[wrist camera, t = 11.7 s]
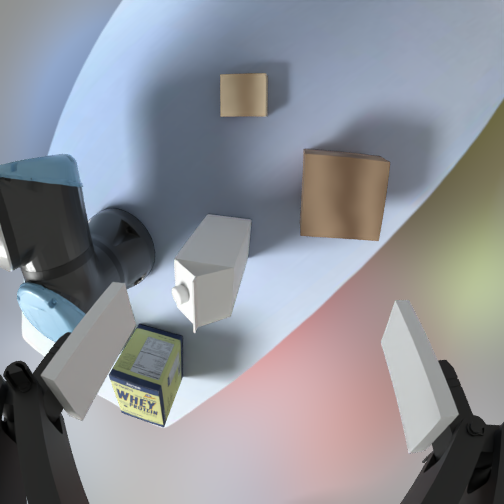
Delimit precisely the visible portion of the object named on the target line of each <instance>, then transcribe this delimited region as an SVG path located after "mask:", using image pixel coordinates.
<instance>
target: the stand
mask: <svg viewBox="0 0 504 504" xmlns="http://www.w3.org/2000/svg"><path fill="white" fill-rule="evenodd" d="M267 100H268V76H267V74H266V73H248V74H222V75H220V113H221V117H231V116H267Z"/></svg>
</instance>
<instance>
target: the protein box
mask: <svg viewBox="0 0 504 504" xmlns="http://www.w3.org/2000/svg"><path fill="white" fill-rule="evenodd" d="M109 377H110V380H111V383H112V386H113V389H114V392H115V395H116V398H117V400H118V403H119V406H120V409H121V412H122V413H124V414H127V415H130V416H132V417H135V418H138V419H141V420H144V421H146V422H149V423H152V424H155V425H158V426H161V427H164V425H165V423H166V420H167V417H168V415H169V412H170V409H171V407H172V404H173V401H174V399H175V396H176V393H177V391H178V388H179V386H180V383H181V380H182V377H183V336H181V335H177V334H173V333H169V332H166V331H162V330H159V329H155V328H152V327H148V326H145V325H141V324H139V325H138V327H137V329H136V330H135V332H134V333H133V335H132V337H131V338H130V340H129V342H128V343H127V345H126V347H125V348H124V350H123V352H122V353H121V355H120V357H119V358H118V360H117V362H116V363H115V365H114V367H113V369H112V370H111V372H110V374H109Z"/></svg>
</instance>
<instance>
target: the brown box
mask: <svg viewBox="0 0 504 504" xmlns="http://www.w3.org/2000/svg"><path fill="white" fill-rule="evenodd" d="M389 169H390V162H389V161H387V160H385V159H384V158H382V157H380V156H375V155H367V154H358V153H348V152H338V151H326V150H313V149H304V155H303V177H302V196H301V213H300V235H301V236H312V237H328V238H343V239H358V240H372V241H379V236H380V231H381V225H382V219H383V213H384V206H385V200H386V193H387V185H388V177H389Z"/></svg>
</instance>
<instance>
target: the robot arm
mask: <svg viewBox="0 0 504 504" xmlns="http://www.w3.org/2000/svg"><path fill="white" fill-rule="evenodd" d="M82 187H83V185H82V183H81V182H80V177H79V172H78V167H77V162H76V160H75V159H74V158H73V157H72V156H70V155H68V154H59V155H51V156H45V157H38V158H32V159H26V160H20V161H15V162H11V163H6V164H1V165H0V268H2V269H5V270H7V271H9V272H11V271H13V270H15V269H17V268H18V267H20V268H21V271H22V273H23V276H24V279H25V283H23V284H21V285H20V288H19V290H18V295H17V299H18V303H19V306H20V308H21V310H22V312H23V313H24V315H25V316H26V318H27V319H28V320H29V322H30V323H31V324H32V325H33V326H34V327H35V328H36V329H37V330H38V331H39V332H41V333H42V334H43V335H44V336H46V337H47V338H49V339H51V340H52V341H54V342H56V343H55V344H54V345H53V347H52V348H51V349H50V351H49V353H47V355H46V356H45V357H44V359H43V360H42V361H41V363H40V364H39V366H38V367H37V368H36V370H35V371H34V373H33V374H32V372H31V371H30V369H29V367H28V366H27V365H26V363H25V362H22V361H16V362H13V363H11V364H10V365H9V366H7V368H6V369H5V371H4V374H3V376H4V377H5V379H6V381H5V380H4V379H3V377H2V376H1V375H0V504H27V500H28V504H89V502H88V499H87V496H86V494H85V491H84V488H83V486H82V483H81V480H80V477H79V474H78V471H77V468H76V465H75V461H74V458H73V454H72V451H71V447H70V443H69V439H68V435H67V431H66V427H65V423H64V418H63V416H62V414H61V412H62V410H63V408H64V410H65V411H66V412H67V413H68V415H69V416H71V417H74V418H76V419H79V420H81V421H83V419H84V417H85V416H86V414H87V412H88V410H89V408H90V406H91V404H92V402H93V400H94V399H95V397H96V395H97V393H98V391H99V389H100V387H101V386H102V384H103V382H104V380H105V378H106V377H107V375H108V373H109V371H110V369H111V368H112V366H113V364H114V362H115V361H116V359H117V357H118V355H119V354H120V352H121V350H122V348H123V347H124V345H125V343H126V342H127V340H128V338H129V337H130V335H131V333H132V331H133V330H134V328H135V326H136V322H135V319H134V315H133V312H132V308H131V305H130V301H129V297H128V293H127V289H129V288H131V287H133V286H135V285H137V284H139V283H140V282H141V281H143V280H144V279H145V277H146V276H147V275H148V274H149V272H150V271H151V269H152V267H153V264H154V260H155V250H154V245H153V242H152V239H151V237H150V235H149V233H148V231H147V229H146V228H145V227H144V225H143V224H142V223H141V222H140V221H139V220H138V219H137V218H136V217H134V216H133V215H131V214H130V213H128V212H126V211H123V210H120V209H105V210H103V211H101V212H99V213H97V214H96V215H94V216H93V217H92V218H91V219H90V220H89V221H88V219H87V214H86V209H85V203H84V198H83V192H82ZM381 345H382V348H383V352H384V355H385V358H386V362H387V365H388V369H389V372H390V376H391V380H392V383H393V387H394V391H395V395H396V398H397V403H398V407H399V411H400V415H401V419H402V423H403V428H404V433H405V437H406V442H407V447H408V452H409V454H411V453H416V452H421V451H425V450H426V449H427V448H428V447H429V446H430V445H431V444H432V446H433V451H432V453H430V454H429V455H428V456H427V457H426V458H425V459H424V460H423V461H422V462H423V463H425V462H426V461H427V462H426V463H425V465H424V467H423V468H422V470H421V472H420V474H419V475H418V477H417V479H416V480H415V482H414V484H413V485H412V487H411V488H410V490H409V491H408V493H407V494H406V496H405V497H404V499H403V500H402V502H401V503H400V504H504V422H503V423H502V425H486V424H485V422H484V421H483V420H482V419H481V418H480V417H478V416H475V415H473V414H472V411H471V409H470V406H469V404H468V401H467V399H466V396H465V394H464V391H463V389H462V387H461V384H460V382H459V379H457V375H456V372H455V370H454V368H453V367H452V366H451V365H450V364H449V363H448V362H447V360H439V361H438V360H437V358H436V356H435V353H434V351H433V349H432V347H431V344H430V342H429V340H428V338H427V336H426V333H425V331H424V329H423V327H422V325H421V323H420V321H419V319H418V317H417V315H416V313H415V311H414V309H413V307H412V305H411V303H410V301H409V300H395V303H394V306H393V309H392V312H391V315H390V318H389V321H388V324H387V326H386V329H385V332H384V335H383V338H382V340H381ZM2 414H3V415H4V421H2ZM26 496H27V500H26Z"/></svg>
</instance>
